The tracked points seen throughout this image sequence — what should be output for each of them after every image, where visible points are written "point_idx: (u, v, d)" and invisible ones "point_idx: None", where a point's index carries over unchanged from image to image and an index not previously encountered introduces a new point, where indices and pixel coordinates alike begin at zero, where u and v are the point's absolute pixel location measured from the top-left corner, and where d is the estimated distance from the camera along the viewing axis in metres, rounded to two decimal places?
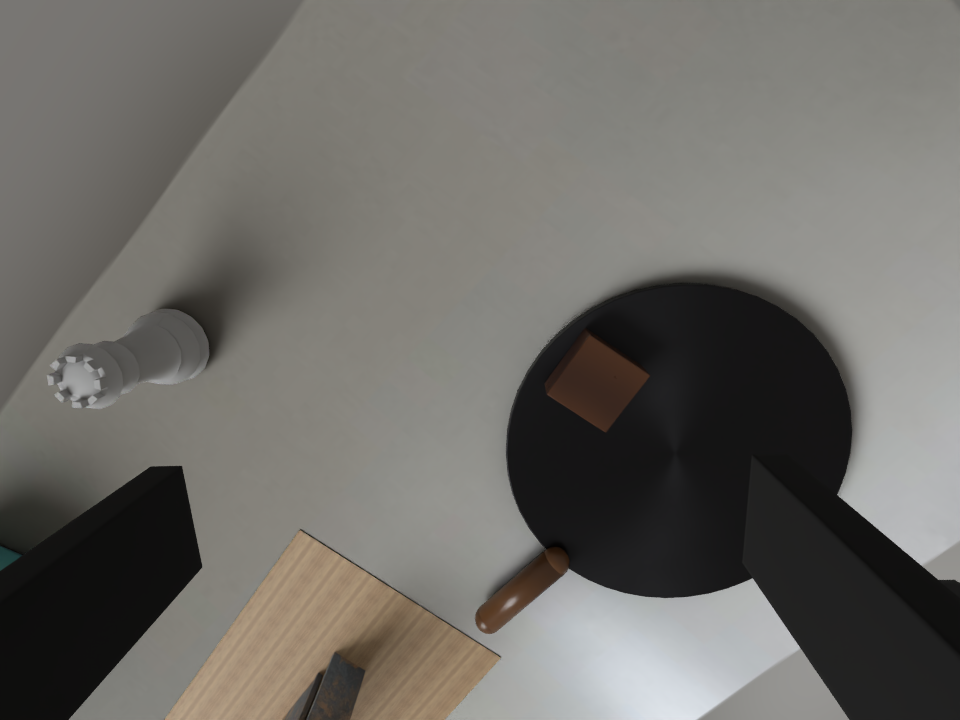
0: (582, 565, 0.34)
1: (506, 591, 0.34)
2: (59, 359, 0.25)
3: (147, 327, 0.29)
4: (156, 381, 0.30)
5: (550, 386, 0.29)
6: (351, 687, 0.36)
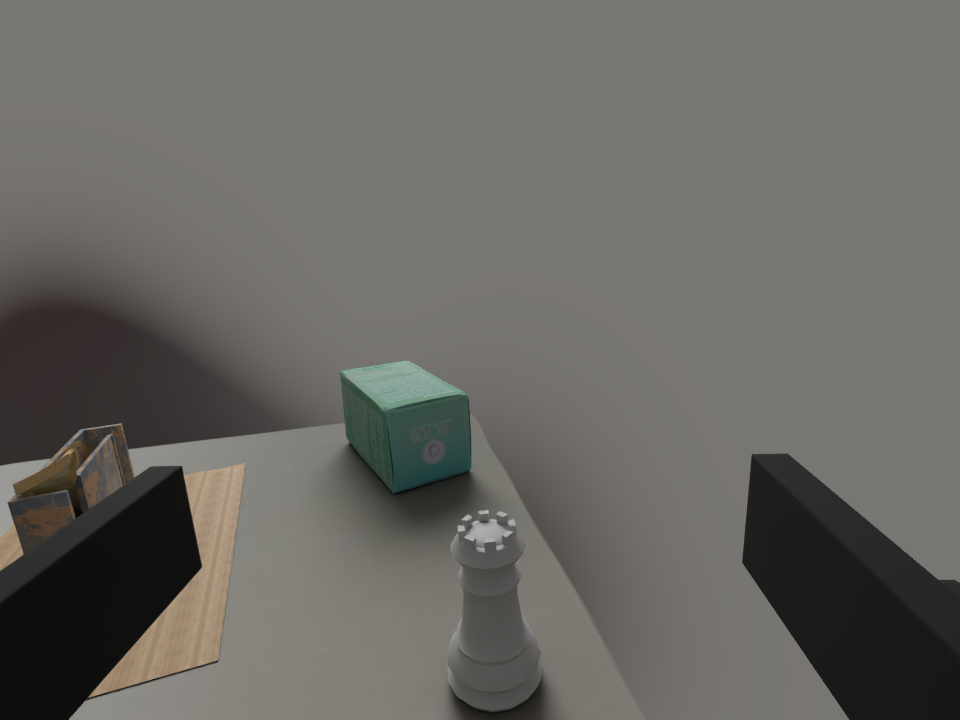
0: None
1: None
2: (515, 529, 0.23)
3: (520, 645, 0.24)
4: None
5: None
6: None
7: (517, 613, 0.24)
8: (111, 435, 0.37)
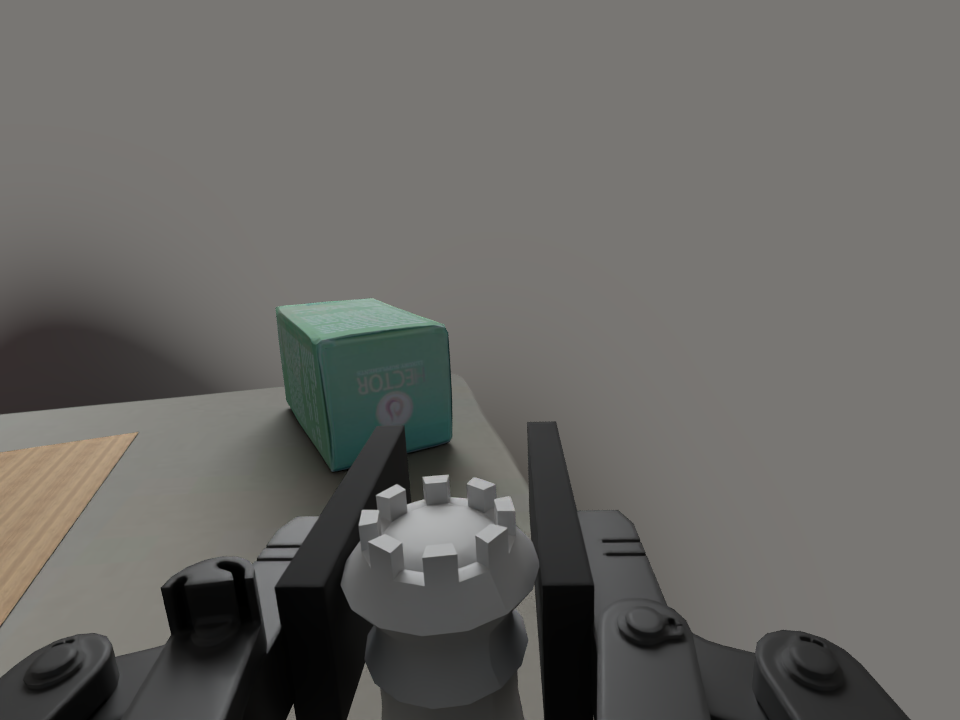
0: None
1: None
2: (514, 522, 0.09)
3: None
4: None
5: None
6: None
7: None
8: None
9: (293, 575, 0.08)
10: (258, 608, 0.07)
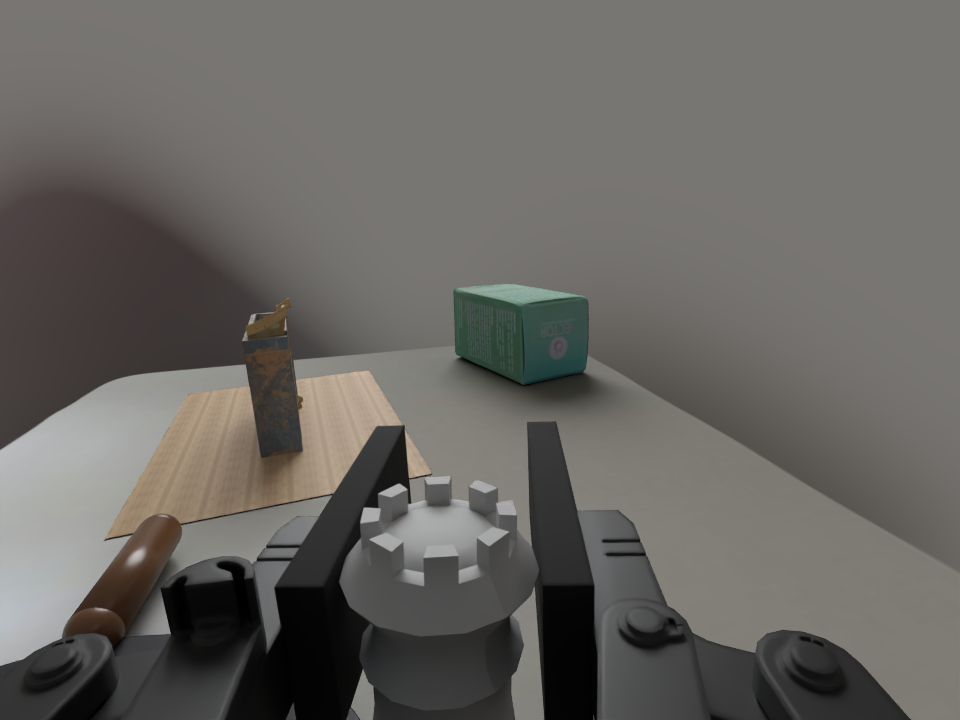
0: None
1: (157, 556, 0.22)
2: (515, 526, 0.09)
3: None
4: None
5: None
6: (266, 430, 0.34)
7: None
8: (285, 316, 0.41)
9: (293, 575, 0.08)
10: (258, 608, 0.07)
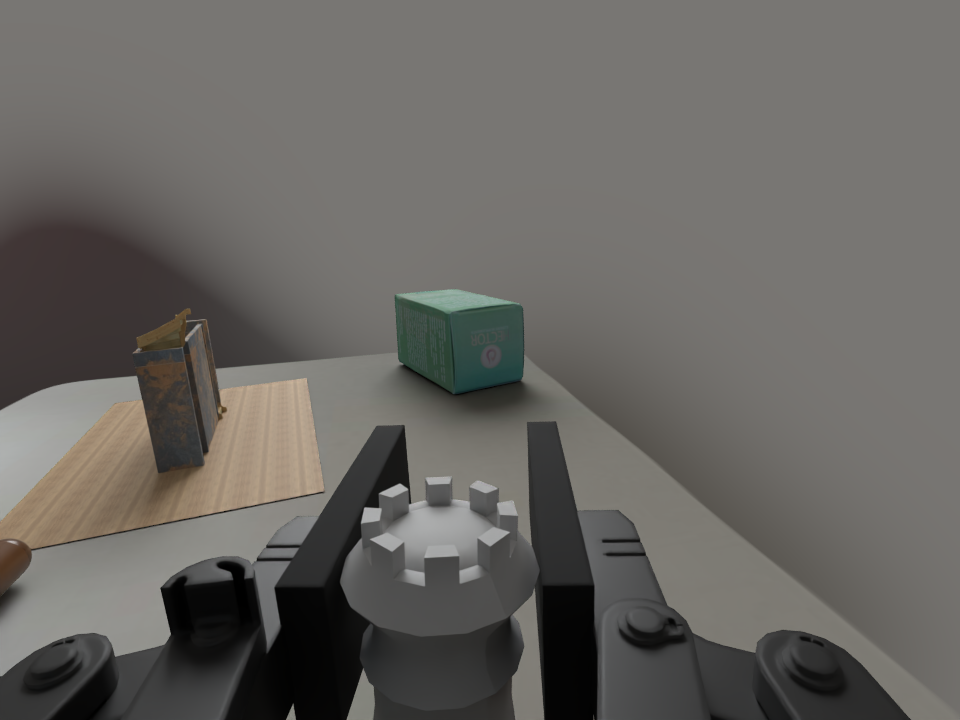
0: None
1: None
2: (515, 526, 0.09)
3: None
4: None
5: None
6: (163, 445, 0.33)
7: None
8: (201, 324, 0.40)
9: (293, 575, 0.08)
10: (258, 608, 0.07)
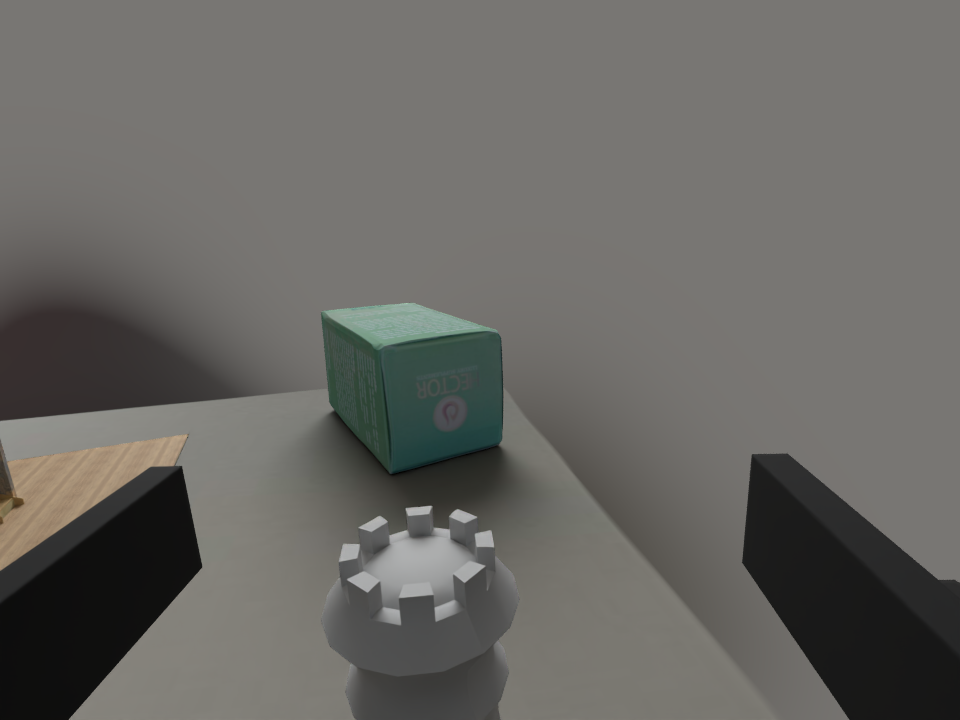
0: None
1: None
2: (494, 557, 0.09)
3: None
4: None
5: None
6: None
7: None
8: None
9: None
10: None
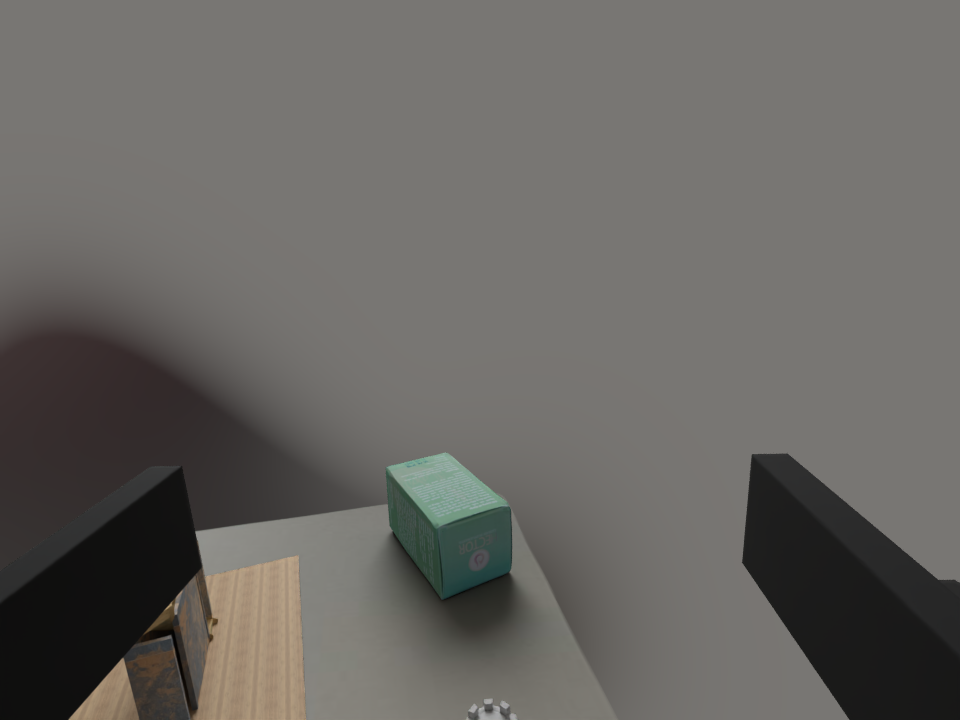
0: None
1: None
2: None
3: None
4: None
5: None
6: None
7: None
8: None
9: None
10: None
